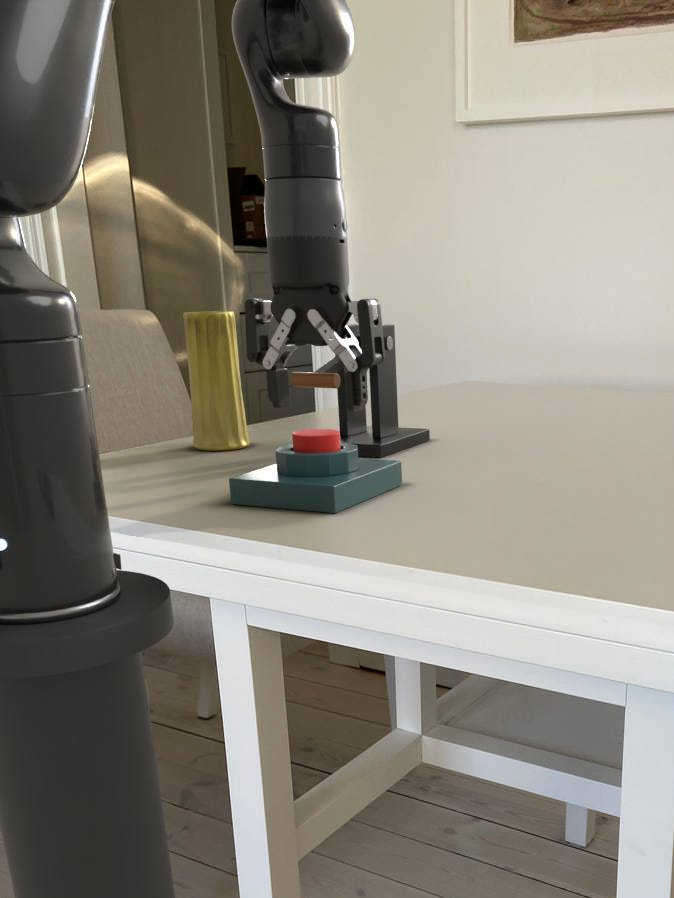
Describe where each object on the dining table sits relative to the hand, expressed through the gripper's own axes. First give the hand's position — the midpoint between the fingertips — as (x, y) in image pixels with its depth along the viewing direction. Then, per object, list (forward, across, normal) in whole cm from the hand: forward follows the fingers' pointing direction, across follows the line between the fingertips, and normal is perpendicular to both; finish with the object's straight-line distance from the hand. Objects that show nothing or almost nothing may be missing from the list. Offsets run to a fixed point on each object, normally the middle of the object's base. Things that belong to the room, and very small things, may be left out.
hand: (318, 409), depth 99 cm
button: (+2, +8, -14) cm, 16 cm away
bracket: (+5, 0, +10) cm, 12 cm away
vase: (+6, -16, +5) cm, 17 cm away
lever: (-3, 0, +6) cm, 6 cm away
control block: (+5, +8, -14) cm, 17 cm away
